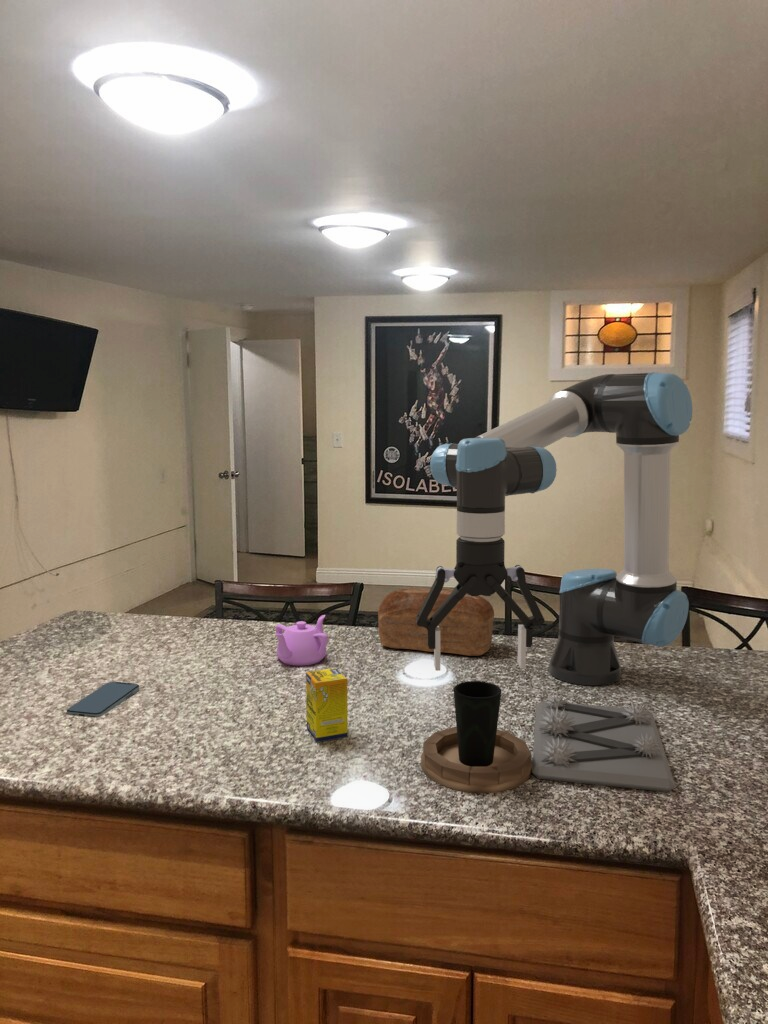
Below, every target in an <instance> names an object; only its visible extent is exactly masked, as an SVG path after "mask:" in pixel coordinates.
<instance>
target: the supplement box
mask: <svg viewBox="0 0 768 1024" xmlns="http://www.w3.org/2000/svg"><path fill="white" fill-rule="evenodd" d="M305 683H306V684H305V688H306V690H305V691H306V695H305V696H306V700H305V701H306V730H307V731H308V732H309V733H310V734H311V736H312V737H313V738H314V740H315V741H316V742H317V743H320V742H324V741H331V740H336V739H341V738H346V737H348V736H349V735H348V678H347V677H345V676H344V675H343V674H342V672H340V670H338V668H336V667H334V668H333V667H332V668H327V669H320V670H314V671H313V670H312V671H307V672H305Z"/></svg>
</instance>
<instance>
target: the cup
mask: <svg viewBox="0 0 768 1024" xmlns="http://www.w3.org/2000/svg"><path fill="white" fill-rule="evenodd" d="M501 698H502V688H500V686H498V685H496V684H494V683H493V682H492V683H491V682H487V681H480V680H469V681H467V680H466V681H463V682H460V683H457V684H456V685H454V687H453V699H454V710H455V711H454V712H455V723H456V724H455V725H456V726H455V727H457V740H458V753H459V761H460V762H461V763H462V764H464V765H466V766H471V767H486V766H489V765H491V764H492V763H493V758H494V749H495V741H496V733H497V730H498V724H499V723H498V722H499V713H500V708H501Z"/></svg>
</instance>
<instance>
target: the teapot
mask: <svg viewBox="0 0 768 1024" xmlns="http://www.w3.org/2000/svg"><path fill="white" fill-rule="evenodd" d="M325 617H326V614H322V615H320V616H319V617H318V620H317V622H316V625H315V626H314V625H313V624H307V622H306V621H303V620H301V621H296V623H295V624H293V625H290V626H288V627H287V626H285V625H284V624H281V623H280V624H279V623H277V624H276V625H275V634H274V635H275V636H276V637H277V639H278V640H277V642H278V643H277V647H276V656H277V658H278V659H279V660H280V662H282V663H284V664H285V665H289V666H296V667H298V666H299V667H300V666H302V667H303V666H313V665H315V664H318V663H320V662H321V661H322V660H323V659H324V658H325V656H326V655H327V645H328V641H329V635H328V634H327V633H324V629H323V628H324V626H323V623H324V619H325ZM283 631H284V632H283Z"/></svg>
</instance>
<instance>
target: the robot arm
mask: <svg viewBox="0 0 768 1024" xmlns="http://www.w3.org/2000/svg"><path fill="white" fill-rule="evenodd" d="M692 418H693V401H692V396H691V393H690V389H689V388H688V385H687V384H686V383H685V381H684V380H683V378H681V376H679V375H677V374H674V373H670V372H658V371H657V372H655V371H652V372H640V373H639V372H637V373H618V374H617V373H606V374H600V375H598V376H593V377H590V378H587V379H585V380H583V381H579V382H578V383H575V384H572V385H571V386H568V387H565V388H564V389H561V390H559V391H557V392H556V393H554V394H552V396H551V397H549V400H548V402H546V403H544V404H542V405H540V406H538V407H536V408H533V409H532V410H530V411H528V412H526V413H523V414H521V415H519V416H517V417H515V418H512V420H511V419H510V420H509V421H507V422H505V423H503V424H500V425H498V426H497V427H494V428H492V429H490V430H488V431H486V432H484V433H482V434H480V435H477V436H476V437H469V438H463V439H461V440H460V441H459V443H454V442H453V443H452V442H451V443H444V444H441V445H439V446H437V447H436V449H435V450H434V451H433V452H432V455H431V456H430V463H429V464H430V466H429V467H430V472H431V475H432V478H433V479H434V480H435V482H437V483H438V484H440V485H443V486H447V487H451V488H456V535H458V537H457V539H456V545H455V547H456V549H455V550H456V552H455V553H456V557H455V558H456V559H455V560H456V562H455V566H454V568H444V567H443V566H442V565H439V566H437V567H436V571H435V579H434V581H433V583H432V585H431V587H430V588H431V589H430V591H429V593H428V595H427V597H426V599H425V601H424V603H423V605H422V607H421V609H420V611H419V613H418V615H417V617H416V622H417V625H418V626H420V627H425V628H426V629H427V644H428V647H429V649H434V652H433V666H434V670H435V671H436V672H437V671H439V672H440V671H441V652H440V628H439V626H438V625H439V624H440V623H441V622H442V620H443V619H444V618H445V617H446V616H447V615H448V613H449V612H450V611H451V610H452V609H453V608H454V606H455V605H456V604H457V603H458V602H459V601H460V600H461V599H462V598H463V597H464V596H465V595H466V594H468V595H471V596H484V597H492V595H494V594H495V593H496V595H498V597H499V598H500V599H501V600H502V601H503V602H504V603H505V605H507V607H508V608H509V609H510V610H511V611H512V612H513V613H514V615H515V616H516V617H517V618H518V619H519V621H521V623H522V624H517V626H518V627H517V665H518V667H519V668H520V669H521V670H526V669H527V667H526V666H527V664H526V659H527V648H531V647H532V646H533V631H534V629H535V626H538V625H543V624H545V622H546V620H545V617H544V616H543V613H542V611H541V610H540V607H539V605H538V604H537V602H536V599H535V597H534V596H533V593H532V592H531V589H530V588H529V586H528V583H527V581H526V580H527V579H526V572H525V569H524V568H523V566H522V565H521V564H516V565H515V566H513V567H506V565H505V545H506V544H505V539H504V538H503V536H504V535H505V533H506V531H505V530H506V528H505V527H506V524H505V522H506V521H505V519H506V516H505V515H506V497H508V496H516V495H524V494H535V493H538V492H541V491H544V490H546V489H548V488H549V487H551V485H552V484H553V483H554V482H555V479H556V476H557V470H558V469H557V462H556V459H555V457H554V456H553V454H552V453H551V452H550V451H549V450H548V449H547V448H546V447H548V446H550V445H552V444H554V443H555V442H556V443H557V442H558V441H559V440H561V439H563V438H565V437H566V438H576V437H579V436H580V435H582V434H585V433H610V434H611V433H612V434H615V438H616V439H615V441H616V442H615V445H616V446H618V447H619V448H620V449H621V450H622V451H623V569H622V570H621V571H620V572H618V573H617V571H616V570H613V569H609V568H585V569H577V570H576V569H575V570H571V571H567V572H566V573H564V574H563V575H562V576H561V581H560V588H559V592H558V593H559V616H558V618H559V619H558V638H557V640H556V645H555V647H554V648H553V652H552V654H551V657H550V659H549V670H548V671H549V674H551V676H552V677H554V678H555V679H558V680H560V681H563V682H566V683H571V684H575V685H581V686H606V685H607V686H608V685H611V684H615V683H617V682H618V681H619V680H620V679H621V675H622V674H621V673H622V672H621V671H622V667H621V662H620V660H619V657H618V656H619V655H618V652H617V649H616V645H615V642H614V641H615V637H618V638H619V637H620V638H622V639H626V640H629V641H634V642H638V643H642V644H643V645H648V646H649V645H652V646H656V647H666V646H669V645H672V644H673V642H675V641H676V640H677V639H678V637H679V636H680V634H681V633H682V631H683V629H684V627H685V624H686V622H687V619H688V614H689V606H690V605H689V604H690V603H689V598H688V596H687V594H686V593H685V592H683V591H682V590H677V589H678V587H677V584H678V582H677V580H678V578H677V577H676V576H675V575H674V574H673V572H671V571H670V570H669V569H670V565H669V564H670V507H671V496H670V495H671V451H672V450H673V449H674V448H675V447H676V446H677V445H679V443H680V435H683V434H685V433H686V432H687V431H688V430H689V428H690V425H691V423H690V422H691V421H692ZM452 577H454V579H455V581H456V582H457V584H456V586H455V587H454V588H453V589H452V590H453V591H452V593H451V594H450V595H449V596H448V597H447V598H446V600H445V601H444V602H443V603H442V604H441V605H440V607H439V608H438V609H437V610H436V611H435V612H434V614H433V615H432V616H431V617H430V618H429V619H428V616H429V614H430V612H431V610H432V608H433V606H434V604H435V602H436V600H437V598H438V596H439V594H440V592H441V590H442V589H444V586H445V583H448V582H449V581H450V579H451V578H452ZM507 577H510V579H511V580H512V581H513V582H515V583H516V585H517V587H518V588H519V591H520V592H521V594H522V597H523V599H524V601H525V603H526V605H527V607H528V608H529V610H530V612H531V614H532V615H531V616H528V615H527V613H525V611H524V610H523V609H522V608H521V607H520V606H519V604H518V603H516V601H515V600H514V599H513V598H512V597H511V595H510V593H508V592H507V590H505V588H504V587H503V586H502V584H503V583H504V581H505V580H506V579H507Z"/></svg>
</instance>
